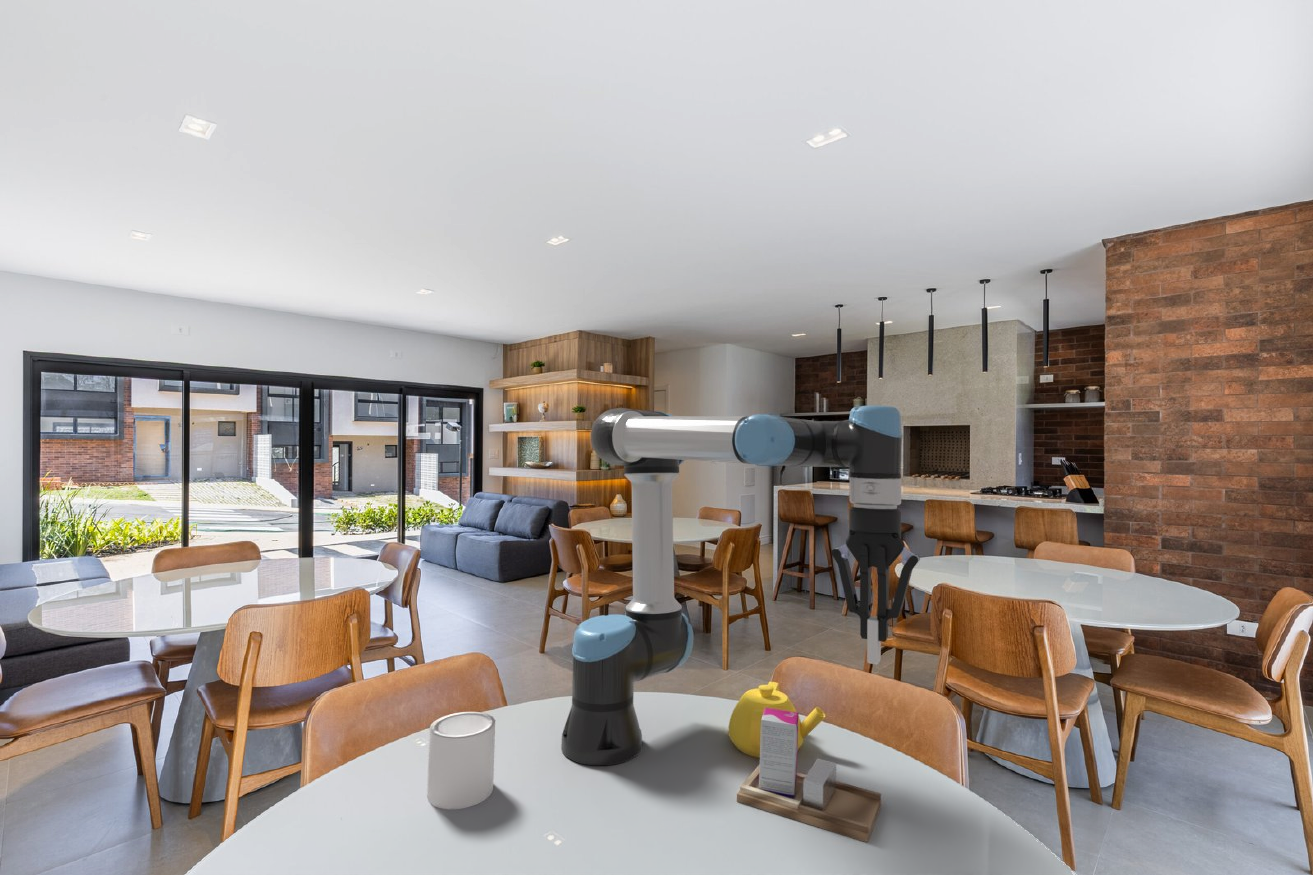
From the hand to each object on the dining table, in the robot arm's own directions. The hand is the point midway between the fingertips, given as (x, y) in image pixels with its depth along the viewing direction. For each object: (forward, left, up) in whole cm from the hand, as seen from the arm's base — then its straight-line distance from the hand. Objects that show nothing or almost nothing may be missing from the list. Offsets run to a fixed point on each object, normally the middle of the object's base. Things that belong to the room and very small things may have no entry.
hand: (873, 661), depth 92 cm
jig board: (-10, 0, -24) cm, 26 cm away
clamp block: (-8, 0, -22) cm, 24 cm away
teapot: (-21, +16, -24) cm, 36 cm away
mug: (-60, -26, -24) cm, 69 cm away
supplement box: (-15, 0, -23) cm, 27 cm away
